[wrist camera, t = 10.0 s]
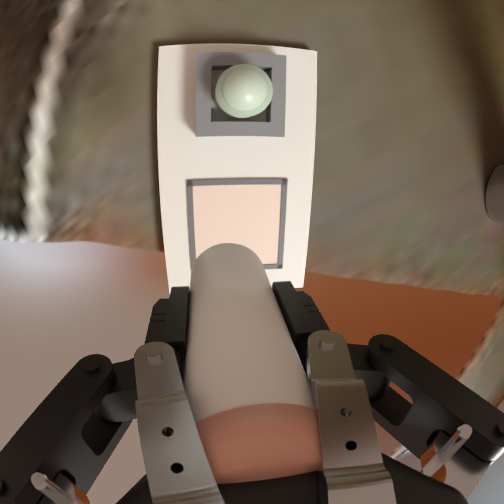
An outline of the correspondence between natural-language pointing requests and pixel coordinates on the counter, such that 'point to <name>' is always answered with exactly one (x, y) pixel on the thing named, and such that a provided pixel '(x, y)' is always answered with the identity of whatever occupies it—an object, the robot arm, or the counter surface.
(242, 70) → the button
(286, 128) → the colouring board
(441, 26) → the counter surface
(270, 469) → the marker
